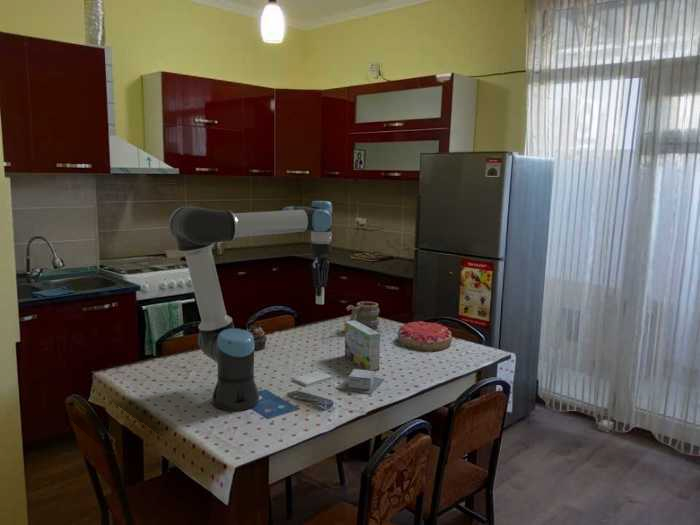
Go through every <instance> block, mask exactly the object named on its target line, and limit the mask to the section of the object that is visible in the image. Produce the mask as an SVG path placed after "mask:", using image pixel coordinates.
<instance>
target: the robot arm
mask: <svg viewBox="0 0 700 525" xmlns="http://www.w3.org/2000/svg"><path fill="white" fill-rule="evenodd" d="M332 222H333V205H332V202H331V201H327V200H313V201H312V202H311V205H310V206H293V205H292V206H286V207H283V209H282V210H274V211H273V210H272V211H270V210H269V211H256V212H255V211H253V212H241V213H240V212H237V213H234V212H233V211H231V210H216V209H209V208H205V207H199V206H196V205H192V204H190V205H184V206H180V207H178V208H176V209H175V210H174V211H173V212H172V213H171V215H170V217H169V221H168V227H169V230H170V232H171V235H172V236H173V237H174V238H175V240H176V244H177V248H178V251H179V252H180V253H182V254H184V256H185V261H186V264H187V267H188V273H189V277H190V280H191V284H192V288H193V292H194V297H195V300H196V304H197V308H198V312H199V316H200V319H201V322H200V323H199V324H198V327H197V328H198V332H199V333H198V346H199V348H200V349H201V351H202V352H203V354H204V355H206V357H208V358H210V359H211V360H213V361H214V362H215V363H216V364H217V381H216V385H215V387H214V389H213V390H214V391H213V393H212V397H211V399H212V401H211V404H212V405H213V408H216V409H219V410H221V411H226V412H230V411H231V412H238V411H239V412H240V411H246V410H248V409H252V408H254V407H256V406H257V405H258V404H259V402H260V393H259V391H258V388H257V384H256V381H255V351H254V347H255V344H254V338H253V335H252V334H251V333H250V332H248V331H246V330H245V329H241V328H235V325H234V320H233V318H232V317H231V316H230V315H228V314H227V310H226V307H225V302H224V298H223V293H222V290H221V285H220V281H219V276H218V272H217V268H216V264H215V259H214V255H213V251H212V248H213V247H214V245H215V244H218V243H225V242H232V241H234V240H235V239H236V238H242V237H245V238H246V237H255V236H256V237H257V236H267V235H278V234H289V233H290V234H291V233H299V232H310V233H311V235H310V241H311V243H310V244H311V245H310V252H311V253H312V254H314V256H313V257H314V258H313V261H312V262H310V267H311V272H312V283H313V288H315V304H316V305H324V304H325V288H326V287H327V286H328V285H327V284H328V276H329V267H330V263H331V259H330V258H328V254H331V253H332V243H331V242H332V237H333V233H332V228H333V227H332V225H333V223H332Z"/></svg>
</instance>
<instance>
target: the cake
mask: <svg viewBox="0 0 700 525" xmlns="http://www.w3.org/2000/svg"><path fill="white" fill-rule="evenodd" d="M397 339H398V342H399V343H400V344H401V345H402V346H405V347H406V346H407V347H408V348H412V349H415V350H420V351H426V352H427V351H429V352H431V351H437V352H438V351H443V350H445V349H447V348H448V347H450V346H451V344H452V339H453V338H452V332H451V331H450V329H448V327H447V326H445V325H443V324H440V323H438V322H428V321H427V322H425V321H422V320H419V321H413V322H407V323H404V325H403V326H401V327H400V328H399V329H398V330H397Z"/></svg>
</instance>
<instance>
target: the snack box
mask: <svg viewBox="0 0 700 525" xmlns="http://www.w3.org/2000/svg"><path fill="white" fill-rule="evenodd" d="M380 344H381V333H380V332H379V333H378V332H376V331H374V330H372V329H371V328H369V327H367V326H365V325H363V324H361V323H359V322H357V321H355V320H354V321H350V320H347V321H344V356H345V357H347V358H348V359H350V360H351V361H353V362H354V363H355V364H356V365H358V366H360V367H361V368H363V370H370V371H377V370H378V371H379V370H380V354H381V352H380V351H381V350H380V349H381V348H380V347H381V345H380Z"/></svg>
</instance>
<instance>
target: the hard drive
mask: <svg viewBox="0 0 700 525" xmlns="http://www.w3.org/2000/svg"><path fill="white" fill-rule="evenodd" d="M329 379H330V380H332V379H333V376H332V375H330V374H327V373H325V372H322V371H320V370H316V371H314V372H309V373H305V374H302V375H300V376H297V377H293V378H292V379H291V380H292V382H295V383H297V384H300V385H301V386H304V387H310V386H313V385H317V384H320V383H322V382H326V380H327V381H330V380H329Z"/></svg>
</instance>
